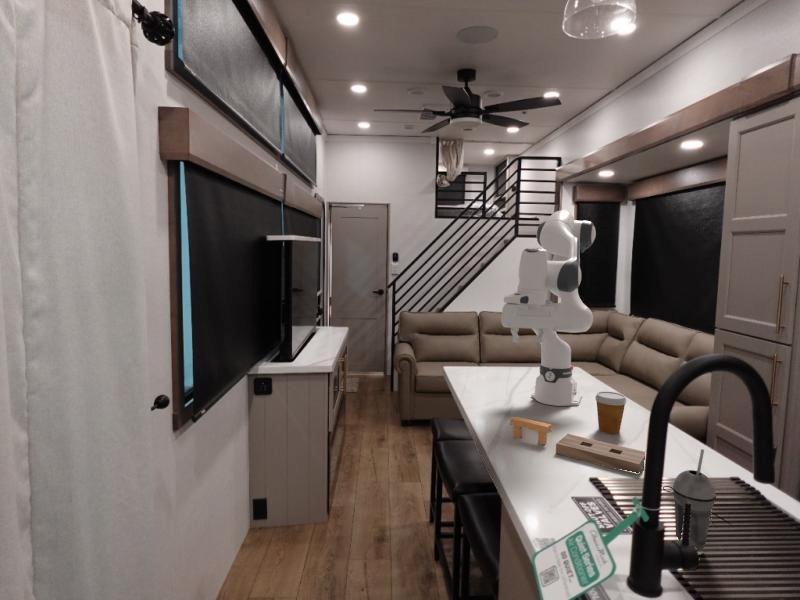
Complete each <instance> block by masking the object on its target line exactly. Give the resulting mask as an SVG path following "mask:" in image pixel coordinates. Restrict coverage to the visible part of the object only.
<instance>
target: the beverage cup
mask: <svg viewBox="0 0 800 600" xmlns="http://www.w3.org/2000/svg"><path fill="white" fill-rule="evenodd" d="M704 453H705V449H702V448H701V449H700V454H699V457H698V458H699V459H698V463H697V464H698V465H697V469H696V470H694V469H692V470H691V469H690V470H688V469H687V470H684V471H682V472H680V473H679V474H678V475H677V476H676V478H675V479H674V481H673V484H672V488H671V489H672V490H673V493H672V494H673V499H674V515H675V518H674V519H675V520H674V521H675V537H676V536H677V537H678V539H679V540H680V539H681V533H682V525H683V516H684V505H685V503H686V502H690V503H691V520H690V532H689V543H690V544H691V545H694V546H695V547H696V548H697V550H698V551H700V550H702V549H703V548H704V549H705V546H706V543H707V539H708V531H709V527H710V523H711V521H710V517H711V515H712V513H711V511H712V510H713V508H714V505H715V502H716V499H717V495H716V489H715V485H714V484H713V483H712V480H710V478H709V477H708V476H707V475H706V474H704V473H703V472H701V469H702V464H703V458H704Z"/></svg>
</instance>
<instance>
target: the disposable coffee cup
mask: <svg viewBox="0 0 800 600" xmlns="http://www.w3.org/2000/svg"><path fill="white" fill-rule="evenodd" d="M594 398H595V400H596V408H597V410H596V411H597V423H598V430H599V431H600V432H602V433H604V434H610V435H617V434H620V432H621V428H622V420H623V415H624V411H625V405H626V403H627V401H628V400H627V399H626V396H625V395H624V394H622V393H619V392H615V391H614V392H613V391H598V392H597V393H596V395H595V397H594Z"/></svg>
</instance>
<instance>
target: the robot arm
mask: <svg viewBox="0 0 800 600" xmlns="http://www.w3.org/2000/svg"><path fill="white" fill-rule="evenodd" d="M596 233H597V232H596V227H595V225H594V223H593V222H592V221H589V220H576V219H575V218H574V216H573V215H572V214H571V213H570V212H568V210H567V211H566V210H557V211H554V212H553V213H552V214H551V215H550V216H549V217H548V218H547V220H545V221H543V222H541V223H540V224H539V225H538V227H537V229H536V233H535V234H536V241H537V244H539V246H540V247H528V248H525V249H523V250H522V252H521V256H520V261H519V266H518V279H519V280H518V285H517V290H516V292H515V291H514V292H513V293H511V294H508V295H505V296H504V297H503V302H504V305H503V307H502V310H501V318H500V319H501V321H500V322H501V326H502V327H503V328H510V333H511V335H512V342H513V343H517V344H518V343H521V336H519V334H518V332H519V330H520V329H531V330H532V331H533V332H534V333H535V334H536V336H535V339H534V340H535V341H534V342H535V343H538V344H540V354H541V355H540V356H541V357H540V358H541V360H540V361H541V362H540V365H539V375H538V376H537V377H536V378H535V386H534V393H531V394H530V396H531V398H532V399H535V401H536V402H539V403H541V404H544V405H548V406H556V407H557V406H558V407H564V406H565V407H566V406H579V405H580V403H581V401H582V398H583V394H582V393H579V392H577V391H578V390H577V388H578V387H577V386H578V385H577V382H576V380H575V379H574V378H573V370H574V365H572V362H571V361H572V349H571V346H570V345H569V343H568V342H566V341H565V340H563V339H561V338H560V337H559V335H558V334H557V332H561V333H575V334H576V333H585V332H587V331H588V330H589V329H590V328H591V327H592V325H593V322H594V316H593V313H592V310H591V309H590V308H589V307H588V306H587V305H586V304H585V303H583V301H582V299H581V298H580V297H581V296H580V294H579V287H580V284H581V281H582V270H581V266H580V265H581V259H580V258H581V257H580V256H581V255H580V254H581V253H584V252H585V251H586V250H587V249H589V248H590V247H591V246H593V243H594V241H595V239H596V237H597V236H596V235H597V234H596ZM548 253H549V254H552V255H553V257H552V259H551V260H549V258H548V257H549V256H548ZM547 291H550V293H551V294H553V295H554V296H556V297H558V298H559V299H560V302H557V303H556V302H553V300H551V299H547Z"/></svg>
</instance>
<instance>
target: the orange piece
mask: <svg viewBox="0 0 800 600" xmlns="http://www.w3.org/2000/svg"><path fill="white" fill-rule="evenodd" d="M509 425H510V426H513V434H512V437H513V438H514V439H522V438H523V437H522V436H523V429H527V430H531V431H534V432H537V444H538V443H539V445H542V444H545V443H546V444H547V439H548V434H549V433H550V432H551V431H552V424H551V423H547V422H542V421H537V420H533V419H529V418H525V417H519V416H515V415H514V416H512V417H510V421H509ZM546 444H545V445H546Z"/></svg>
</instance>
